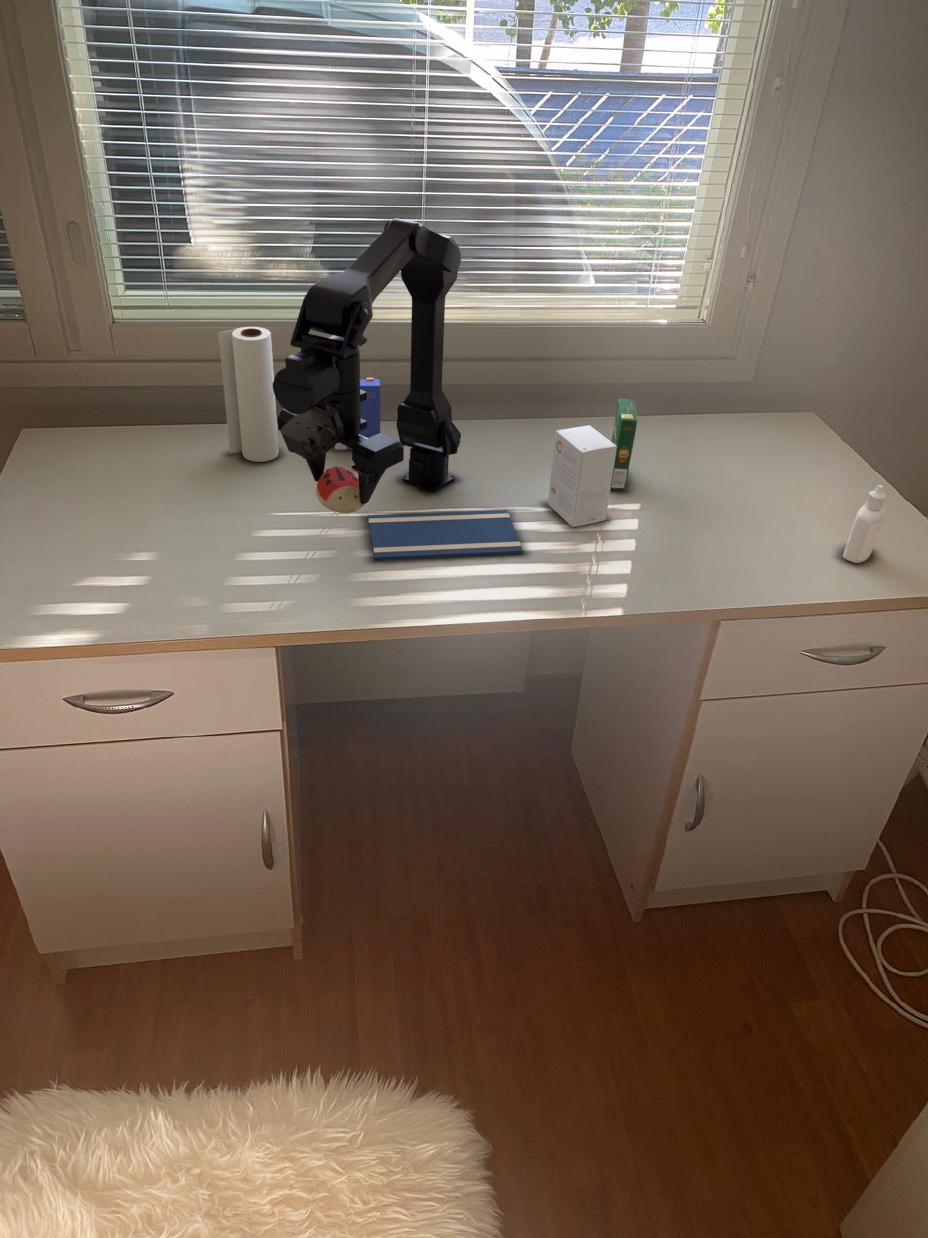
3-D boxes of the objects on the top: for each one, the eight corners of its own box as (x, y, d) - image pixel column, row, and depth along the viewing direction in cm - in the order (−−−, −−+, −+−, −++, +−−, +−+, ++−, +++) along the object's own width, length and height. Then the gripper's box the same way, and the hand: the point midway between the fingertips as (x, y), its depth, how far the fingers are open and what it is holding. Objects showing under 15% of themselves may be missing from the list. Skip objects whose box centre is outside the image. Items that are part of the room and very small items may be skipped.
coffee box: (626, 492, 161) (638, 419, 154) (608, 491, 161) (620, 417, 154) (623, 469, 168) (635, 398, 160) (606, 468, 168) (617, 397, 160)
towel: (374, 560, 141) (374, 556, 140) (367, 518, 150) (367, 514, 150) (522, 554, 144) (523, 550, 144) (506, 513, 154) (507, 509, 153)
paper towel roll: (286, 453, 166) (278, 330, 153) (262, 466, 162) (252, 341, 149) (254, 441, 169) (244, 320, 156) (230, 454, 165) (217, 330, 152)
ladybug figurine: (327, 520, 131) (327, 496, 129) (307, 485, 138) (306, 463, 136) (375, 511, 133) (375, 489, 131) (352, 478, 140) (352, 456, 138)
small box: (606, 521, 153) (618, 445, 146) (571, 528, 151) (582, 452, 143) (579, 497, 159) (590, 423, 151) (546, 504, 157) (554, 429, 149)
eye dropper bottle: (880, 560, 148) (906, 491, 141) (850, 565, 146) (874, 495, 139) (862, 545, 151) (886, 477, 144) (832, 550, 150) (855, 481, 143)
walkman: (378, 441, 172) (378, 376, 164) (380, 448, 169) (380, 383, 162) (334, 442, 170) (332, 377, 163) (334, 449, 168) (333, 384, 161)
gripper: (241, 381, 125) (251, 488, 134) (344, 427, 116) (346, 538, 125) (306, 358, 132) (311, 461, 141) (407, 400, 123) (405, 507, 132)
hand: (341, 491), depth 135 cm, fingers closed on ladybug figurine, 9 cm apart
